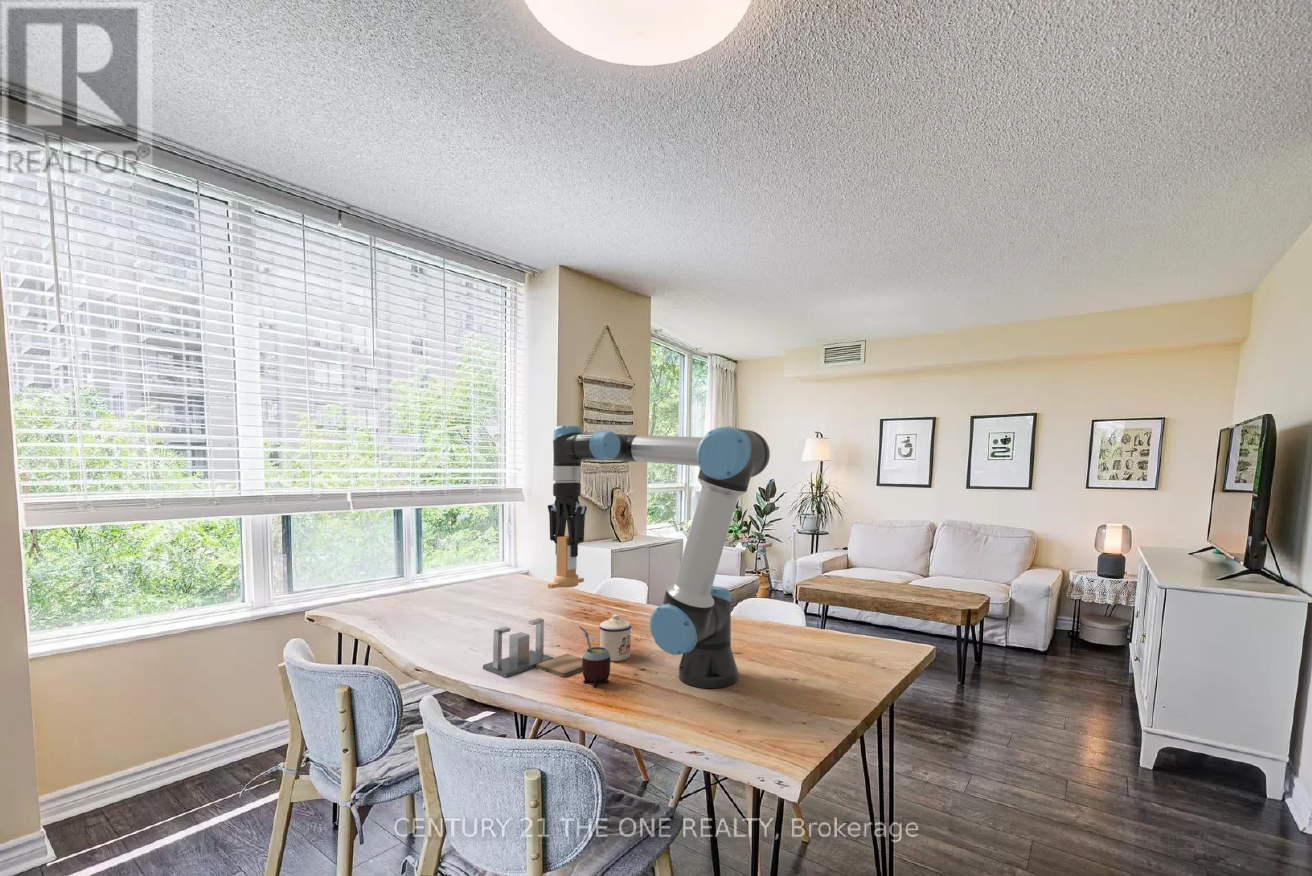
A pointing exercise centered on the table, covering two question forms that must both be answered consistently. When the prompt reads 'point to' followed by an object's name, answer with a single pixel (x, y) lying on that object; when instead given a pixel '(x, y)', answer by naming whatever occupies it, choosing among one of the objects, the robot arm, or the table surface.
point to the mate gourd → (595, 664)
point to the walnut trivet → (562, 665)
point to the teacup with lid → (616, 638)
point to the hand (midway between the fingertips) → (566, 568)
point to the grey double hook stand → (517, 651)
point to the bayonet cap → (564, 567)
